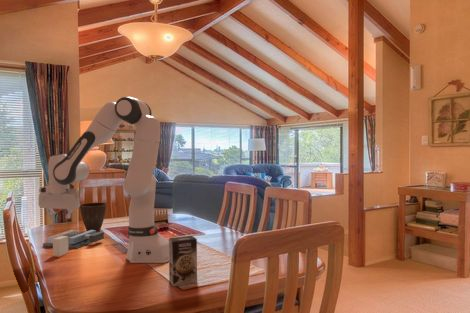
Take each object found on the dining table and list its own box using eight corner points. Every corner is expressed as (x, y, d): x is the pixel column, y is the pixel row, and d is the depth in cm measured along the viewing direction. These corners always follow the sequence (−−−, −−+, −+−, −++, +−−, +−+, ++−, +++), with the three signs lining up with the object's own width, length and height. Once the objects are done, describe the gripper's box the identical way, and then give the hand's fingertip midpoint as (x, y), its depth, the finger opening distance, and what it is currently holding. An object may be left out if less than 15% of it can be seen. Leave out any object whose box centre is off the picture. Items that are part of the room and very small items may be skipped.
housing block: (68, 252, 171) (68, 236, 171) (59, 256, 166) (59, 239, 165) (62, 252, 172) (61, 235, 172) (53, 256, 166) (52, 238, 166)
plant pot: (97, 227, 228) (97, 201, 227) (112, 229, 219) (111, 203, 218) (75, 231, 215) (74, 205, 215) (89, 234, 207) (88, 207, 206)
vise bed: (101, 238, 198) (101, 230, 198) (77, 248, 178) (76, 239, 178) (70, 236, 203) (69, 228, 202) (43, 246, 183) (42, 237, 183)
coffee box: (173, 287, 127) (172, 241, 126) (169, 281, 133) (168, 237, 132) (198, 282, 130) (197, 238, 130) (192, 277, 136) (192, 234, 136)
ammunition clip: (151, 229, 218) (151, 210, 217) (150, 229, 219) (150, 209, 219) (168, 227, 222) (168, 208, 222) (167, 227, 224) (167, 208, 224)
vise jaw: (109, 236, 195) (109, 229, 195) (88, 245, 178) (88, 238, 178) (91, 235, 198) (91, 229, 198) (68, 243, 181) (68, 237, 180)
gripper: (82, 188, 169) (83, 217, 169) (46, 187, 174) (46, 215, 174) (73, 189, 163) (74, 220, 163) (35, 188, 167) (36, 218, 168)
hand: (59, 218), depth 168 cm, fingers open, 8 cm apart
